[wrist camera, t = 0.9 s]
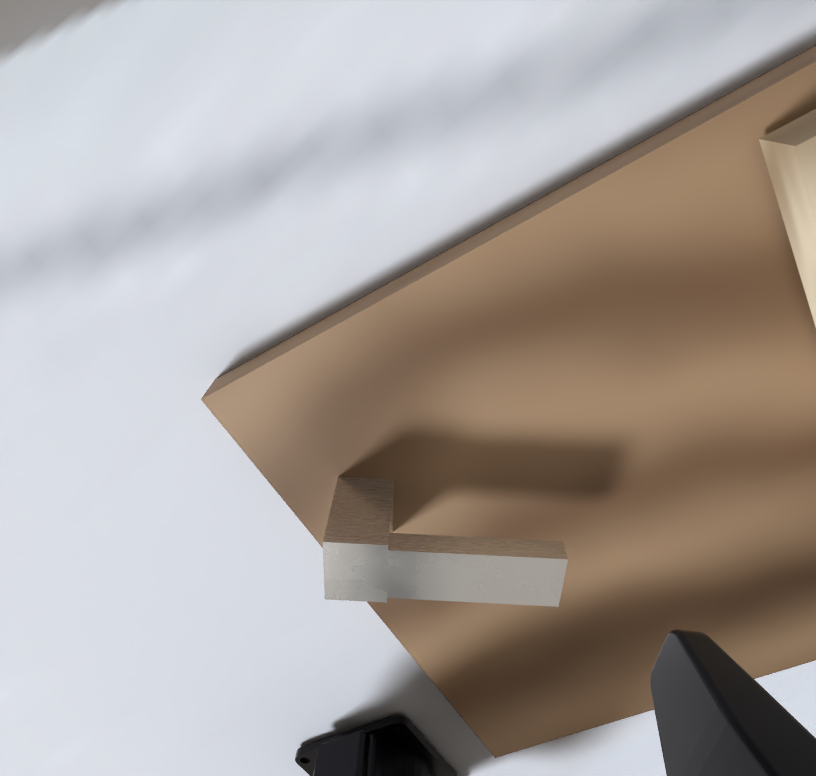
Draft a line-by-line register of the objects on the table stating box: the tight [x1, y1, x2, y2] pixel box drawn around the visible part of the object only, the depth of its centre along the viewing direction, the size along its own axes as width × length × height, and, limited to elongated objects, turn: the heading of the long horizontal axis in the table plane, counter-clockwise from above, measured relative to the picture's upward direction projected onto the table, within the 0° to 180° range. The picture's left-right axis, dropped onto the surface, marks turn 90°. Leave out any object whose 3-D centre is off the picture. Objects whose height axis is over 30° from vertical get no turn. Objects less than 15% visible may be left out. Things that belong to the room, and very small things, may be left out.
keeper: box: [323, 477, 568, 607], centre depth 21 cm, size 8×2×3 cm, turn 88°
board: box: [201, 45, 816, 758], centre depth 22 cm, size 22×23×2 cm
